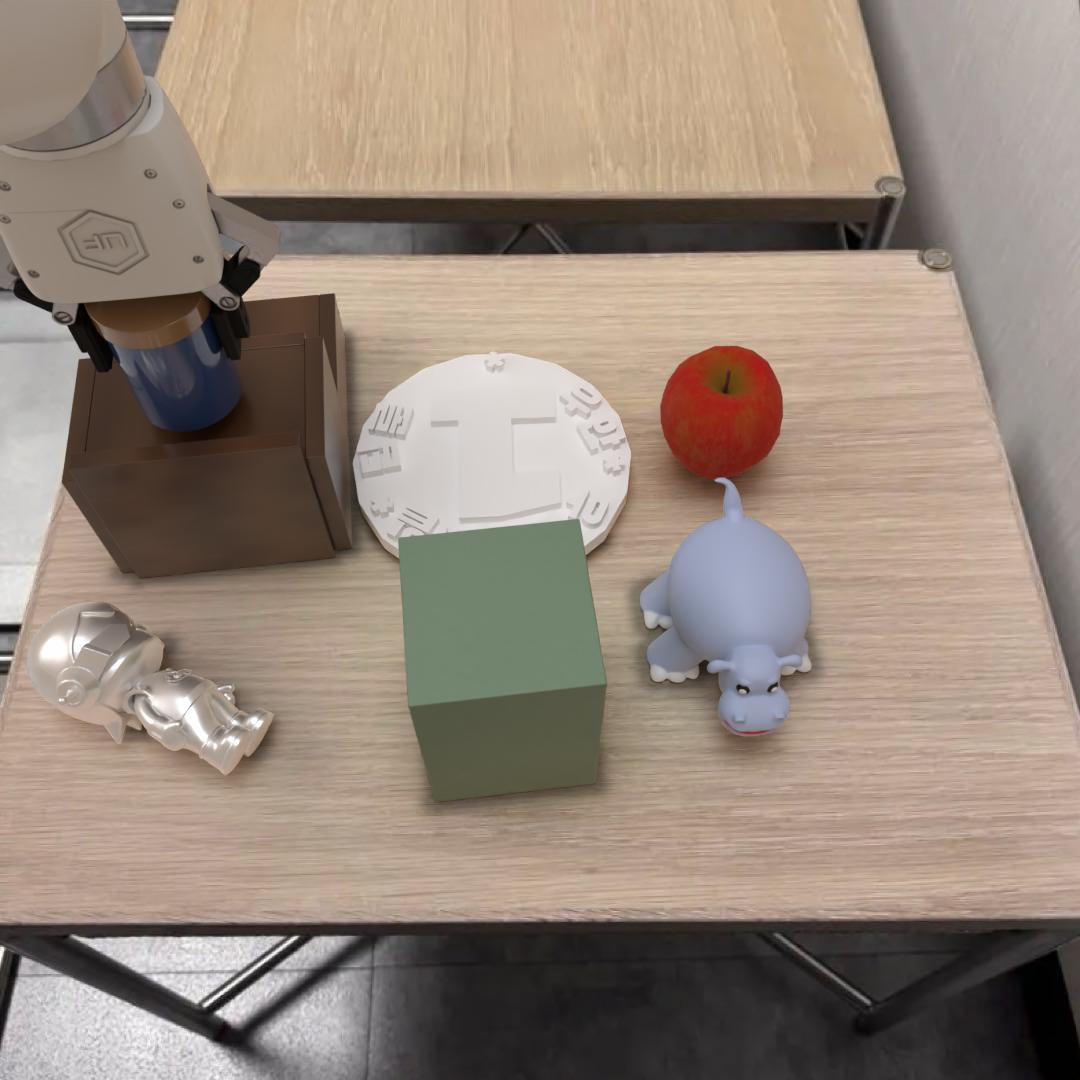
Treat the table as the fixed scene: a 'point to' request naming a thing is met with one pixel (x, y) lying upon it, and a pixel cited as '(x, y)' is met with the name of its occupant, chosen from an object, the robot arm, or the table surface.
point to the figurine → (137, 686)
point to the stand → (502, 658)
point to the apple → (722, 411)
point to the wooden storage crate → (224, 456)
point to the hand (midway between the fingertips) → (171, 346)
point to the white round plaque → (491, 451)
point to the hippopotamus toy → (733, 616)
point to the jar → (170, 358)
